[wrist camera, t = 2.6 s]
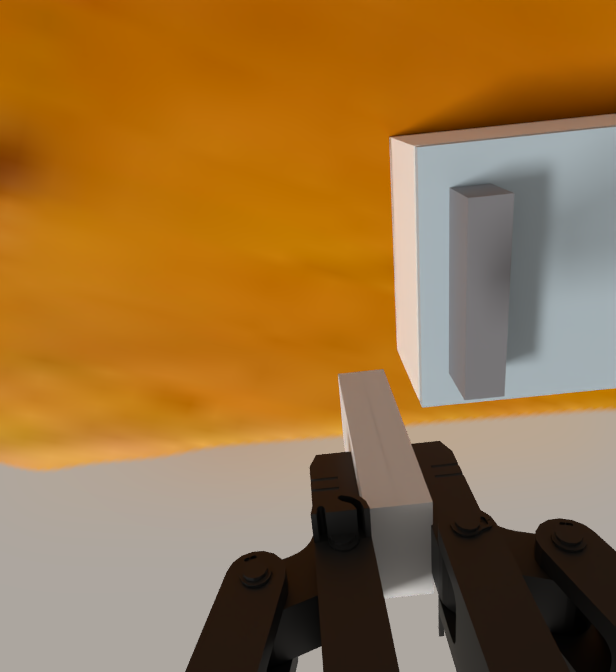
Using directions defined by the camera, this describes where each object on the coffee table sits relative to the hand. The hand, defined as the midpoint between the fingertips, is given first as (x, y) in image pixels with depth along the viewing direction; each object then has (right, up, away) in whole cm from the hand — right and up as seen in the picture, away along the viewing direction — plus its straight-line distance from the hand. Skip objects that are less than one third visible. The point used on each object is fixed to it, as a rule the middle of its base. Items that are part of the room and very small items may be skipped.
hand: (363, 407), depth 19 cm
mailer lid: (+14, +6, +11) cm, 18 cm away
